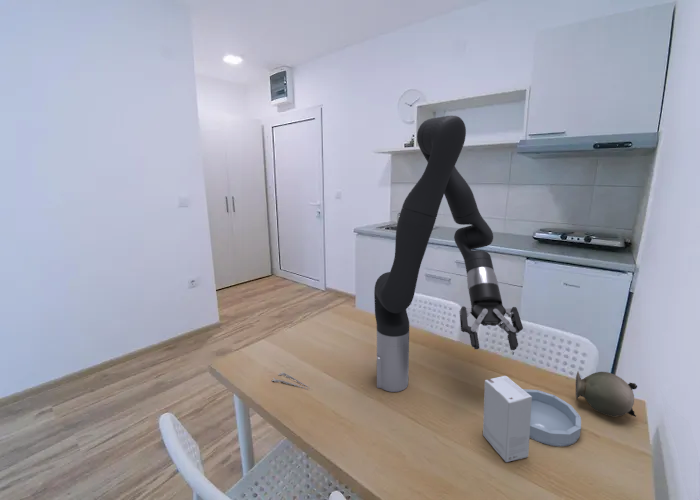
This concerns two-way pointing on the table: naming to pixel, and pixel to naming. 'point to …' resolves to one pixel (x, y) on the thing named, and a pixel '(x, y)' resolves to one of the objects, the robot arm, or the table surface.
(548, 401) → the bowl
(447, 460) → the table surface
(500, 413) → the skincare box
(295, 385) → the tweezers
